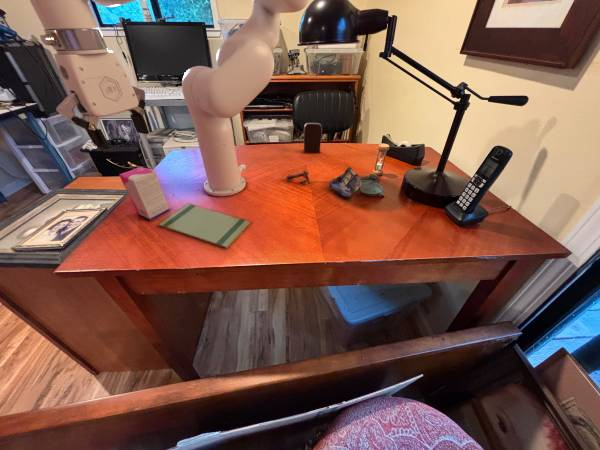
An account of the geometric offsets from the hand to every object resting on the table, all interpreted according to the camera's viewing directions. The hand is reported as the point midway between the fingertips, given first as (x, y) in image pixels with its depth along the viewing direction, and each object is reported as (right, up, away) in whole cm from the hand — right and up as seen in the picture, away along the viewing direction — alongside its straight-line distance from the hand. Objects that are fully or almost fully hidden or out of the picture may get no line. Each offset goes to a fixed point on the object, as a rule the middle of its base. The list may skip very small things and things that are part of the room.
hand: (124, 140), depth 53 cm
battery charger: (+44, +11, +46) cm, 64 cm away
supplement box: (-1, -15, +12) cm, 19 cm away
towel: (+15, -19, +8) cm, 25 cm away
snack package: (+54, -8, +23) cm, 59 cm away
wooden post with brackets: (+38, -5, +26) cm, 46 cm away
